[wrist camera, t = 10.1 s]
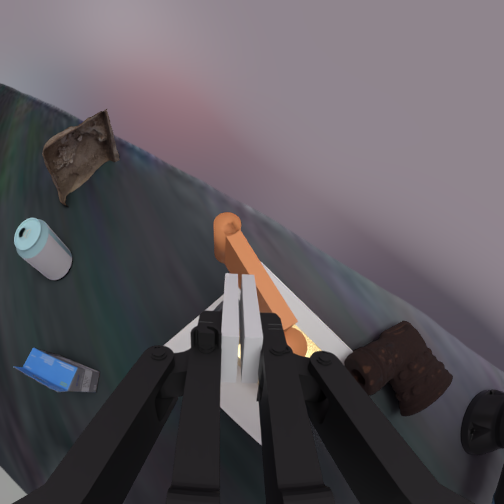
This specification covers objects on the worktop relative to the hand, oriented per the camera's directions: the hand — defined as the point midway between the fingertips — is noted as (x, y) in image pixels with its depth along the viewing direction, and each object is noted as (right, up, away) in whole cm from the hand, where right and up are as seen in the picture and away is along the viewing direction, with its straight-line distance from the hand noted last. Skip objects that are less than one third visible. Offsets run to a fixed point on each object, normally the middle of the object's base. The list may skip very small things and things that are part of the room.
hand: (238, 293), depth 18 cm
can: (-35, 0, +28) cm, 45 cm away
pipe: (+24, -18, +25) cm, 40 cm away
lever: (+1, -3, +16) cm, 16 cm away
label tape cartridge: (-28, -17, +21) cm, 39 cm away
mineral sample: (-34, +18, +37) cm, 53 cm away
